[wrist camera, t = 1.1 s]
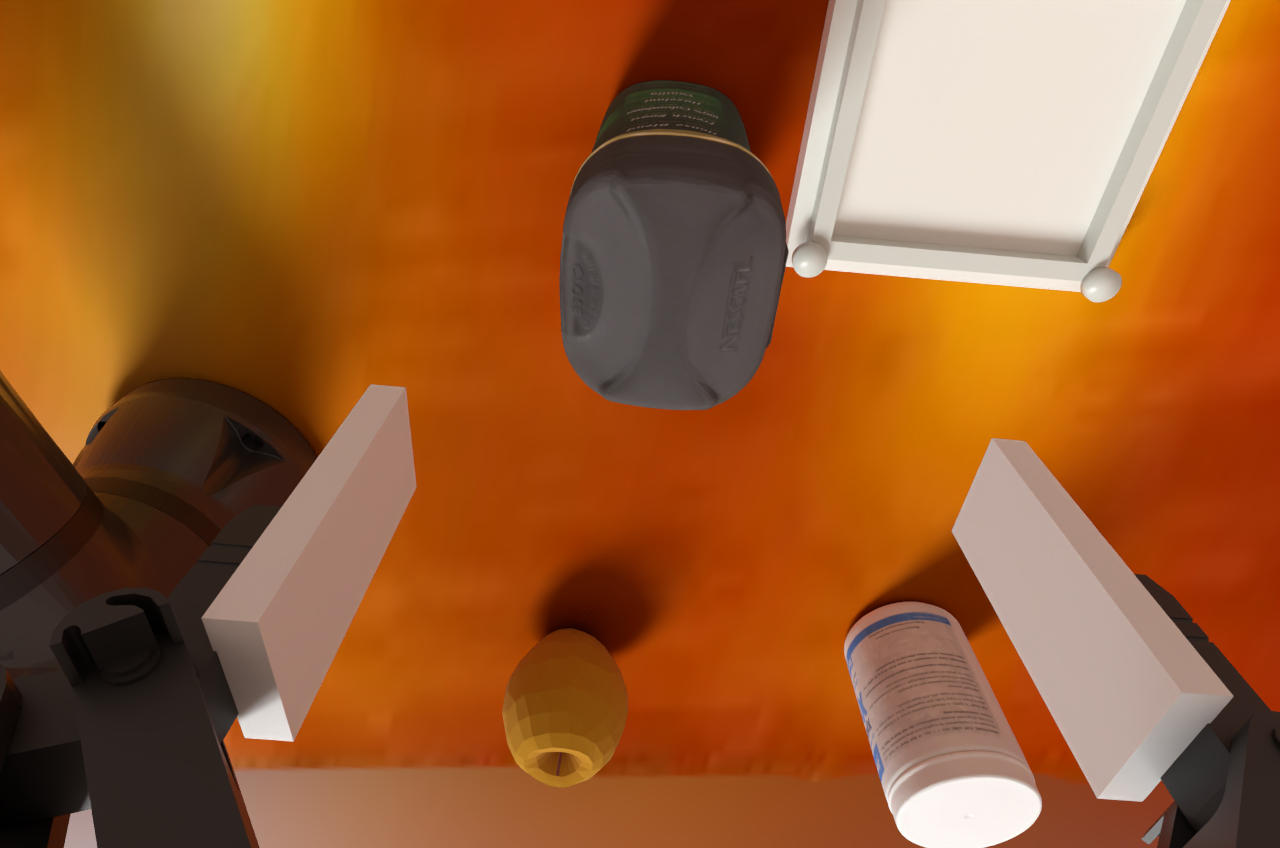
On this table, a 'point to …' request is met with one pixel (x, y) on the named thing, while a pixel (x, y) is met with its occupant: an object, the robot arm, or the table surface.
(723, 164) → the coffee jar
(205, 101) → the table surface
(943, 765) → the supplement tub
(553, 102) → the table surface
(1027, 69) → the white square tray
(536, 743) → the apple
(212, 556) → the robot arm
